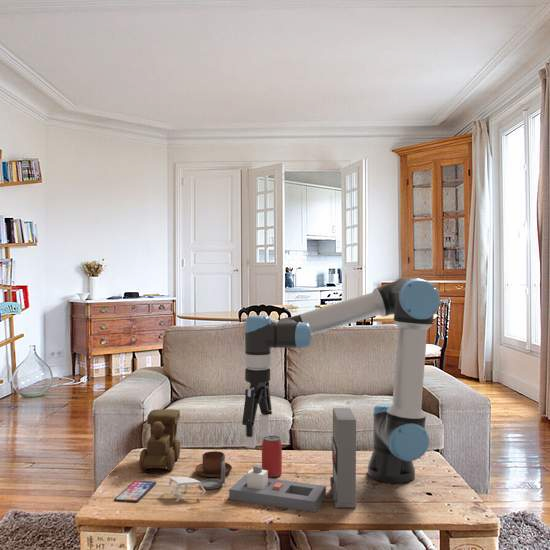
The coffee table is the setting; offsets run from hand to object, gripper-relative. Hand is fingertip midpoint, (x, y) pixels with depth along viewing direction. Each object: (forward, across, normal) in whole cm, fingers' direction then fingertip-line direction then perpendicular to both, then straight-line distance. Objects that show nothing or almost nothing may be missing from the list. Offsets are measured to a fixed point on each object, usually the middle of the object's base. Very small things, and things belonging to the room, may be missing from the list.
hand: (257, 441), depth 168 cm
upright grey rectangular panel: (+16, -6, +24) cm, 30 cm away
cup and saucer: (+16, -12, -20) cm, 28 cm away
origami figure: (+16, +8, -19) cm, 27 cm away
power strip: (+16, 0, +6) cm, 17 cm away
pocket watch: (+16, -2, -15) cm, 22 cm away
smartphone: (+17, +10, -35) cm, 40 cm away
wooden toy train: (+16, -13, -41) cm, 46 cm away
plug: (+16, 0, 0) cm, 16 cm away
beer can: (+16, -17, -2) cm, 23 cm away
